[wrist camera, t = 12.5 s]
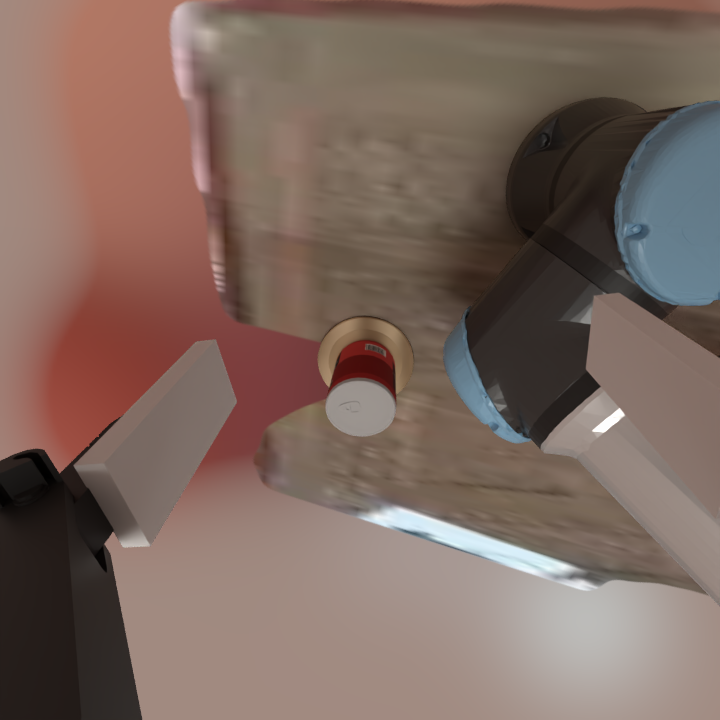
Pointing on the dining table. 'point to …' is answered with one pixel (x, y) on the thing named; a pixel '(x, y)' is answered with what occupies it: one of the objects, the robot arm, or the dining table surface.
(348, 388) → the canned food
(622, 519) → the dining table surface
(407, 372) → the disc
